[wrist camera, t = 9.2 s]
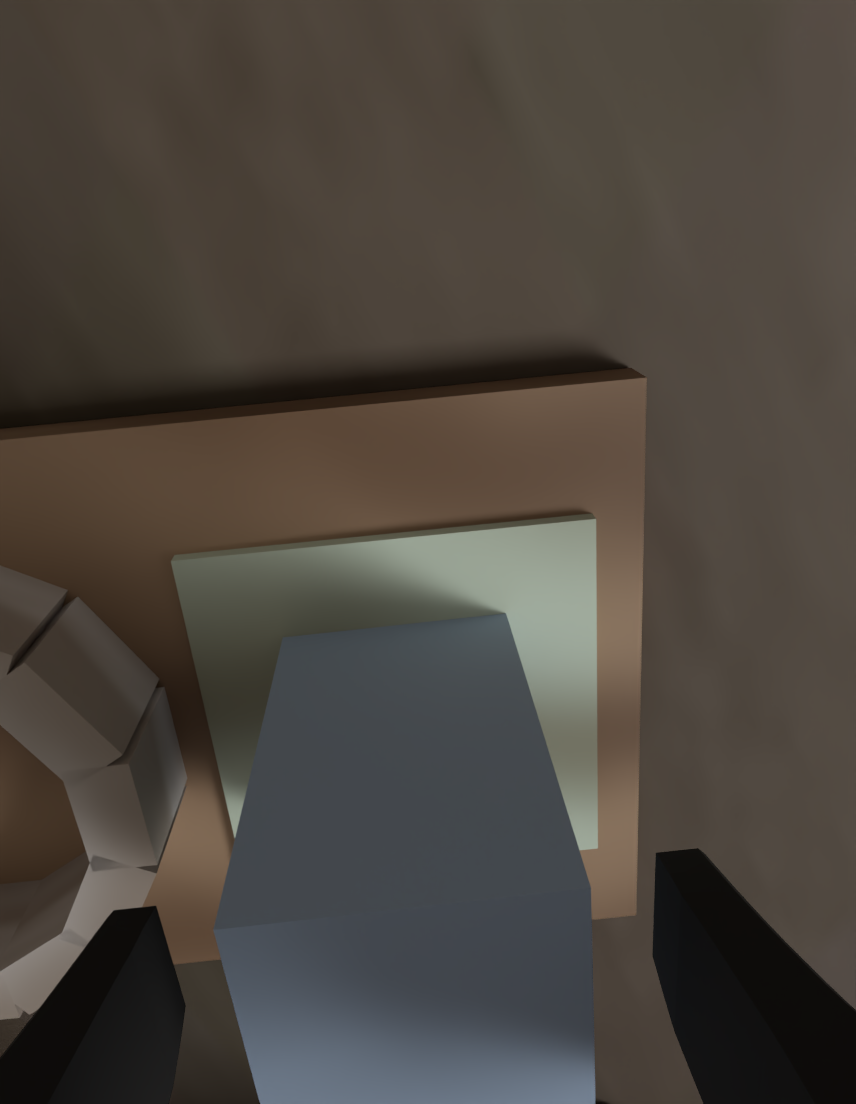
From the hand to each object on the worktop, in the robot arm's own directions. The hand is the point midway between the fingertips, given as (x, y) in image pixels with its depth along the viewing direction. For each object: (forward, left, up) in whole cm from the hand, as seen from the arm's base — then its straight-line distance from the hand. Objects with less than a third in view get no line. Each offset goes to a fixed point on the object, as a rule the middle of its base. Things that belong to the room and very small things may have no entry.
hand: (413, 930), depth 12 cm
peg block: (0, 0, -5) cm, 5 cm away
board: (0, +5, -7) cm, 8 cm away
